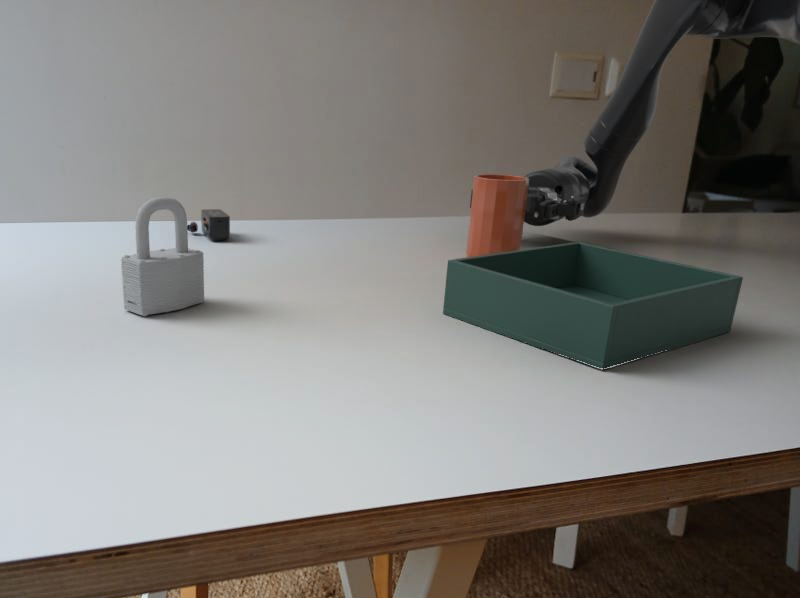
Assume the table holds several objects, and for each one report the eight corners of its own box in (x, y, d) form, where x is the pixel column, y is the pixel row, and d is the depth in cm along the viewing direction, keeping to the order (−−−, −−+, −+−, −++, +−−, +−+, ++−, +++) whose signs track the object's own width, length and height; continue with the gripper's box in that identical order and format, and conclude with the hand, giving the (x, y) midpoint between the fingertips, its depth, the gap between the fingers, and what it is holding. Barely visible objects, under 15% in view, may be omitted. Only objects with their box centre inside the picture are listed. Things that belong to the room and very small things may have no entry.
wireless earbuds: (219, 231, 103) (219, 208, 102) (230, 241, 97) (230, 216, 96) (186, 232, 102) (185, 208, 101) (195, 242, 96) (195, 217, 95)
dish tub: (571, 288, 80) (578, 241, 78) (730, 331, 67) (743, 276, 65) (442, 313, 69) (447, 260, 67) (602, 371, 56) (613, 306, 54)
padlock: (182, 295, 72) (179, 191, 68) (209, 304, 69) (207, 196, 66) (119, 309, 67) (112, 197, 63) (145, 319, 64) (140, 203, 61)
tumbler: (490, 251, 97) (499, 173, 93) (529, 261, 92) (540, 179, 88) (455, 256, 93) (463, 175, 90) (493, 266, 88) (503, 181, 85)
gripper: (503, 165, 108) (458, 172, 96) (603, 173, 101) (569, 183, 88) (497, 216, 111) (453, 230, 98) (594, 228, 104) (559, 245, 91)
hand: (508, 208), depth 93 cm, fingers open, 8 cm apart
